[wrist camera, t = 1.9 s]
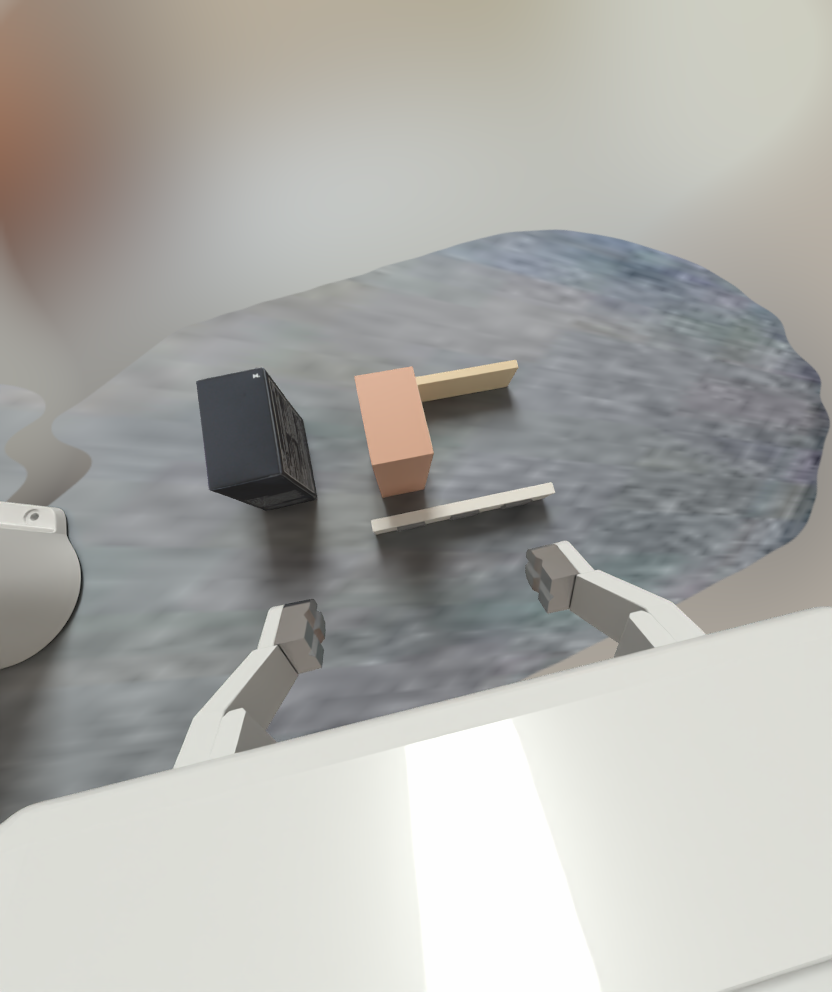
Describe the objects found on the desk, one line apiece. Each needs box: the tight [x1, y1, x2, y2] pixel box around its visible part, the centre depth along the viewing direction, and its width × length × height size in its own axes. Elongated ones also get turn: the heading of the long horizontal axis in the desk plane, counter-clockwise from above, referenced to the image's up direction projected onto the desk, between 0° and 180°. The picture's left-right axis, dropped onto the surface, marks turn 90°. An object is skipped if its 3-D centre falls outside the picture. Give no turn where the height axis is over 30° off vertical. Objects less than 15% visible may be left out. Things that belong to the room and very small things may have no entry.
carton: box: [354, 367, 434, 498], centre depth 31 cm, size 5×8×12 cm, turn 12°
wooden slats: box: [371, 360, 555, 534], centre depth 35 cm, size 20×16×4 cm
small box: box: [196, 367, 317, 510], centre depth 31 cm, size 11×6×10 cm, turn 14°
